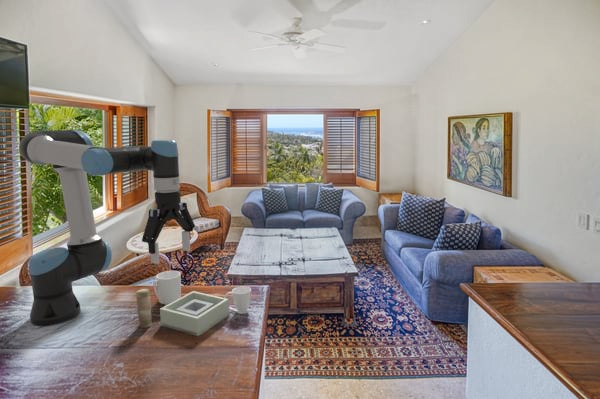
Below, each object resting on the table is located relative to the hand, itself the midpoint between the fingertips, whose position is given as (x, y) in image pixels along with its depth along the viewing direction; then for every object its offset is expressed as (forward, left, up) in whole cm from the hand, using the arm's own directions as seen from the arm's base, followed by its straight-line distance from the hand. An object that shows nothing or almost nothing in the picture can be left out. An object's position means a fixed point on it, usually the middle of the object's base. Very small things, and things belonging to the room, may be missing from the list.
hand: (171, 256), depth 126 cm
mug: (-18, +14, -25) cm, 34 cm away
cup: (+11, +19, -25) cm, 33 cm away
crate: (+2, +7, -25) cm, 26 cm away
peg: (-11, -3, -25) cm, 27 cm away
